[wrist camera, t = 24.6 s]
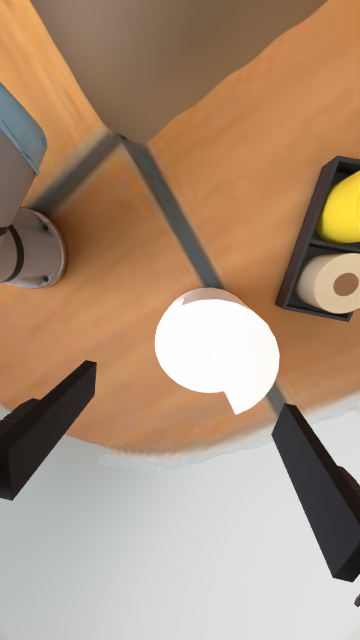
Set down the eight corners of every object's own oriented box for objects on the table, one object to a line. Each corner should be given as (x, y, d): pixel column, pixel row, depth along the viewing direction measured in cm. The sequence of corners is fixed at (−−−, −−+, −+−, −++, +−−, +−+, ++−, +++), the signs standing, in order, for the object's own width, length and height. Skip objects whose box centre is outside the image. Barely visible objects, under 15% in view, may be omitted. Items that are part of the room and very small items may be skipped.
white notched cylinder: (144, 312, 42) (121, 333, 29) (232, 269, 38) (249, 273, 25) (185, 386, 46) (180, 432, 34) (268, 354, 42) (298, 394, 30)
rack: (274, 304, 39) (282, 308, 36) (322, 166, 32) (337, 155, 29) (335, 316, 39) (348, 322, 35) (396, 180, 32) (420, 170, 29)
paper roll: (286, 299, 38) (305, 307, 31) (303, 250, 36) (328, 247, 29) (332, 308, 38) (362, 318, 31) (354, 260, 35) (391, 259, 29)
